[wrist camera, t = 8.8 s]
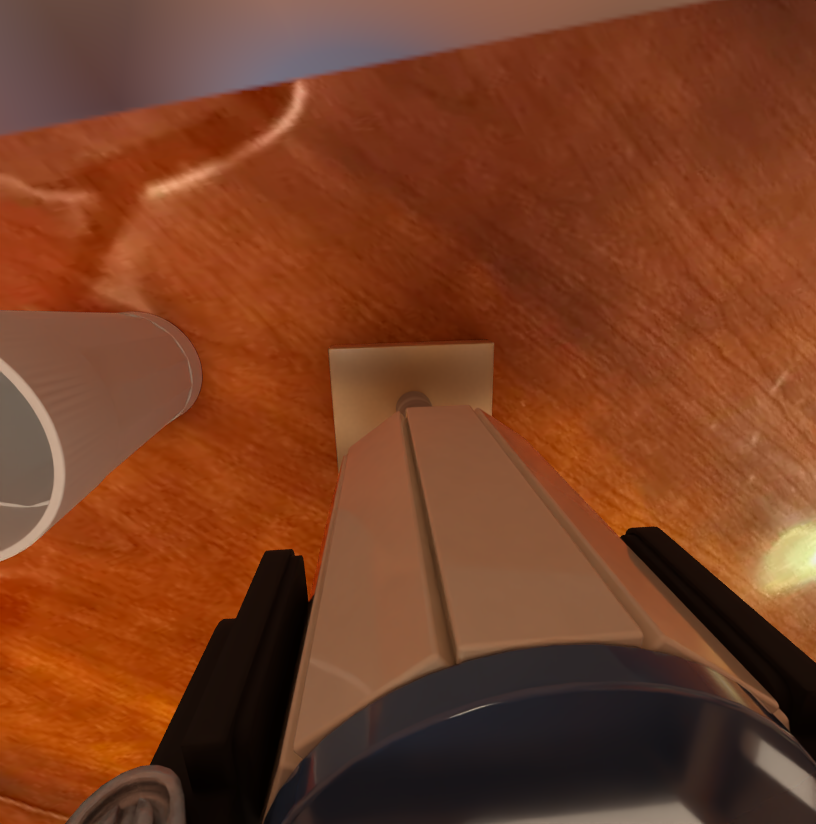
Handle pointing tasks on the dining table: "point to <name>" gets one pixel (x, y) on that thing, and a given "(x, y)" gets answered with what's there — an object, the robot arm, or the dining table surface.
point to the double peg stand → (404, 382)
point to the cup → (80, 406)
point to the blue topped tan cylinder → (509, 658)
